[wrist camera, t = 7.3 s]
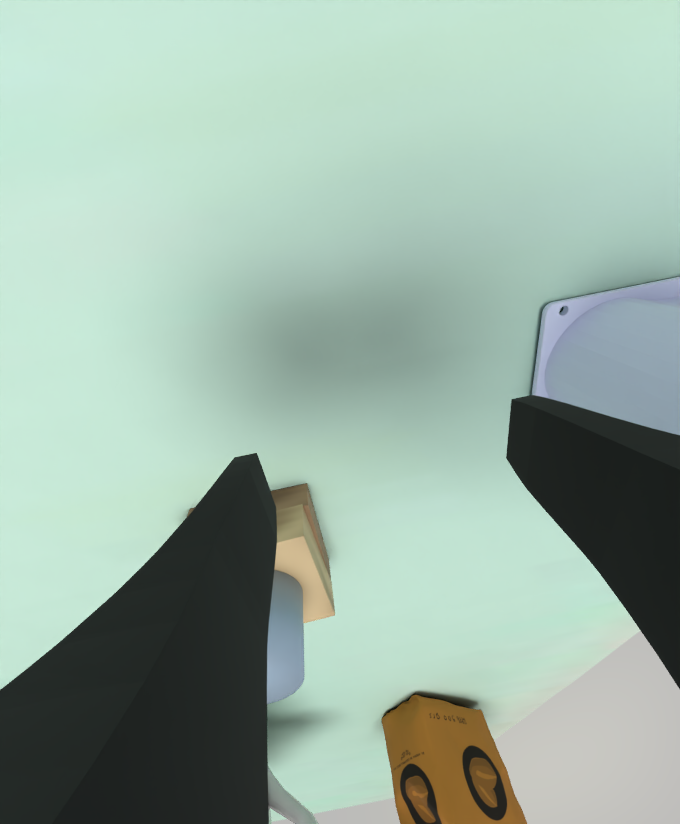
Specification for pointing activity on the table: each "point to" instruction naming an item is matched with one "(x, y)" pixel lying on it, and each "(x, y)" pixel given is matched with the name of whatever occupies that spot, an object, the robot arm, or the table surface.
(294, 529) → the oak slab
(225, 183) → the table surface
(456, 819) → the coffee package
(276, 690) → the round block
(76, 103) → the table surface
